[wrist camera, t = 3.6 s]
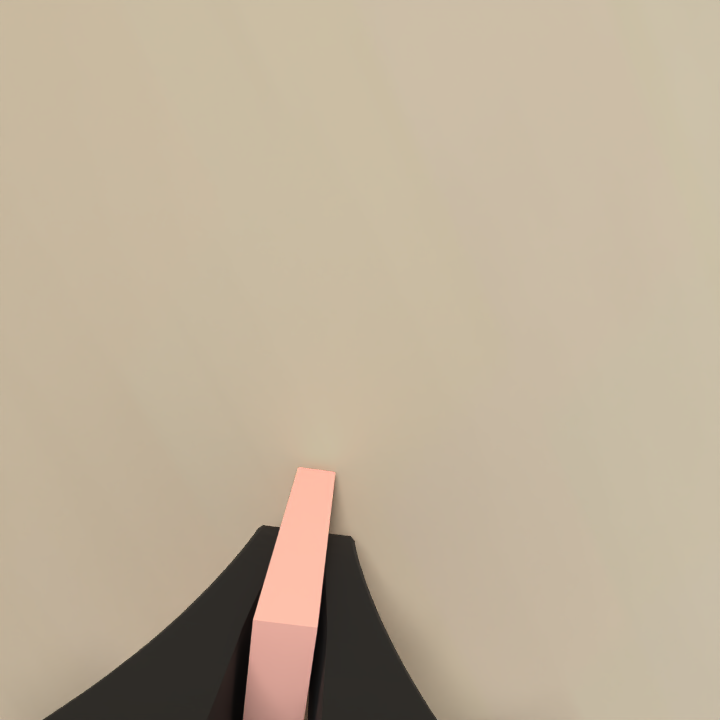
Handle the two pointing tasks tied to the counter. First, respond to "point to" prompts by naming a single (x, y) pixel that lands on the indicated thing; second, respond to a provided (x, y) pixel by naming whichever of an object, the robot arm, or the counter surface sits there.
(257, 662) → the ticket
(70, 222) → the counter surface
